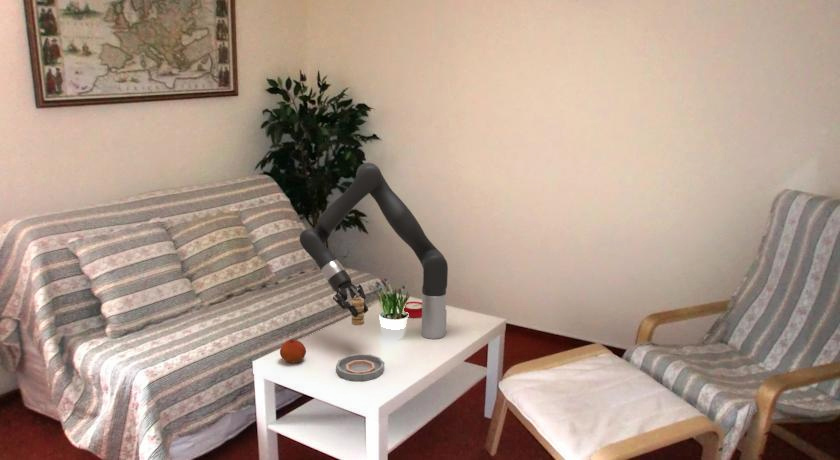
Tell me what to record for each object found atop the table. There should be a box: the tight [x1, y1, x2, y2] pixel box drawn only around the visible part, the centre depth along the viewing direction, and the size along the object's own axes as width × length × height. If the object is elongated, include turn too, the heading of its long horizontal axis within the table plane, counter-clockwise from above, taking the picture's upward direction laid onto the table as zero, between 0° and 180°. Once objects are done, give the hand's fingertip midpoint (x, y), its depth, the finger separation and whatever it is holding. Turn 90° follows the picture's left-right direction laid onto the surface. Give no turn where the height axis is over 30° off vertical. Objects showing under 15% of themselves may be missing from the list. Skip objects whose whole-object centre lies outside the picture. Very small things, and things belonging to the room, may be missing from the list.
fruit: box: [279, 338, 307, 364], centre depth 231 cm, size 9×9×8 cm
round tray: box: [335, 353, 385, 382], centre depth 225 cm, size 16×16×2 cm
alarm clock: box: [404, 301, 422, 319], centre depth 278 cm, size 10×6×15 cm
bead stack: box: [351, 298, 365, 327], centre depth 235 cm, size 4×4×9 cm
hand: (361, 313), depth 234 cm, fingers closed on bead stack, 4 cm apart
